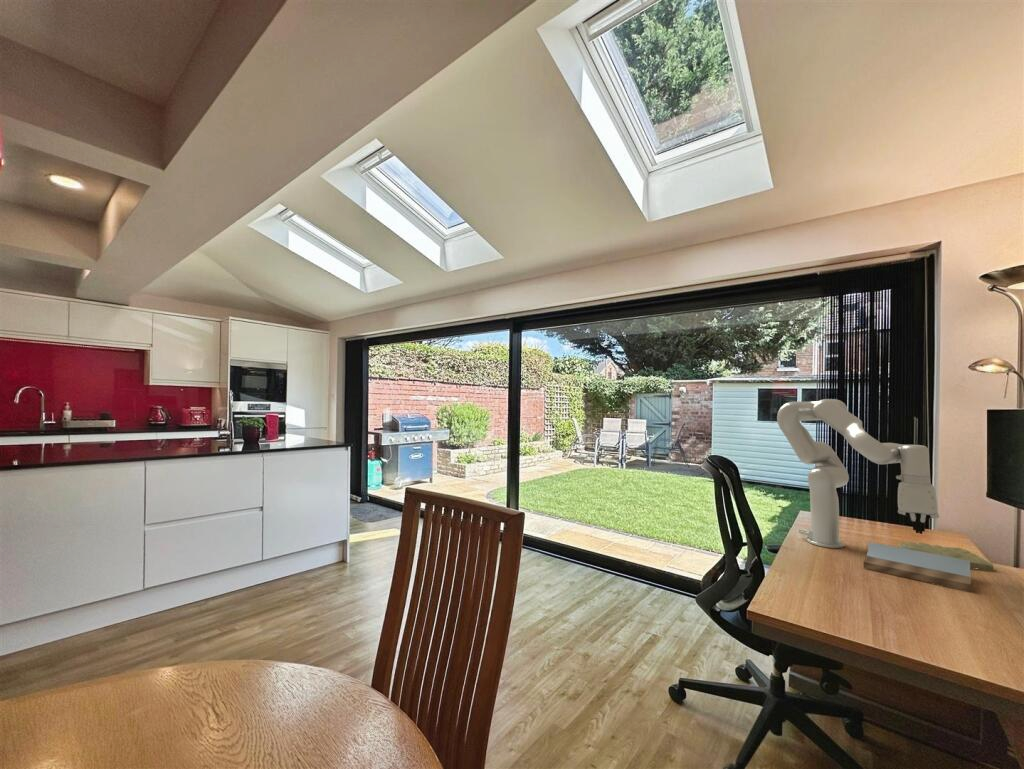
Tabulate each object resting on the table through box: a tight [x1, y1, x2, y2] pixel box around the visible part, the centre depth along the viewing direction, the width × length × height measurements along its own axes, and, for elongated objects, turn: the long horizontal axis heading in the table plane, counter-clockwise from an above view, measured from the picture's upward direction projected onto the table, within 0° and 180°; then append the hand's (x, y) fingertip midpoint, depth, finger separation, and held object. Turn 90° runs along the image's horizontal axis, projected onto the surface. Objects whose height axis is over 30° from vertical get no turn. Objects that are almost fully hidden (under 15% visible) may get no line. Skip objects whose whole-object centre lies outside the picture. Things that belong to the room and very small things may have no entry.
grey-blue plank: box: [866, 541, 972, 577], centre depth 152 cm, size 26×8×2 cm, turn 45°
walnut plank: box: [863, 555, 972, 593], centre depth 146 cm, size 26×8×2 cm, turn 45°
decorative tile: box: [897, 541, 994, 572], centre depth 163 cm, size 19×20×4 cm
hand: (919, 532), depth 153 cm, fingers closed
